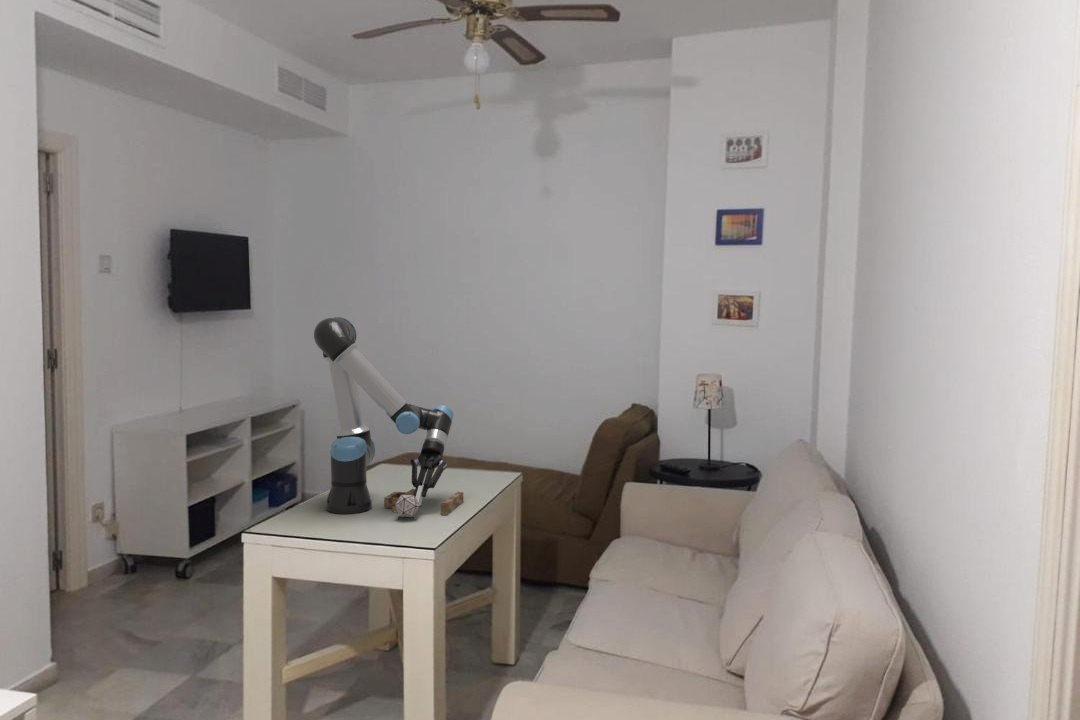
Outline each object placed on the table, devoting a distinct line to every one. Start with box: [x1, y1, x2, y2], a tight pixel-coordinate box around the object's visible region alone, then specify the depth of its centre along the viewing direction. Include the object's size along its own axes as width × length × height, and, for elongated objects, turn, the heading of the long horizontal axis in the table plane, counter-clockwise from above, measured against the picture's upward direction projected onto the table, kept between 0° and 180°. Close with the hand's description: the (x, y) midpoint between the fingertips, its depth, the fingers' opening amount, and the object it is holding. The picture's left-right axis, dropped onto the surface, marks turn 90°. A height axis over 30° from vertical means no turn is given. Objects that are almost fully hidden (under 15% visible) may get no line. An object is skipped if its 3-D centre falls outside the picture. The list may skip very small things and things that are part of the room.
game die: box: [392, 493, 423, 520], centre depth 251 cm, size 9×8×10 cm
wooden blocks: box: [383, 488, 464, 516], centre depth 267 cm, size 18×24×4 cm
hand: (417, 504), depth 255 cm, fingers closed
